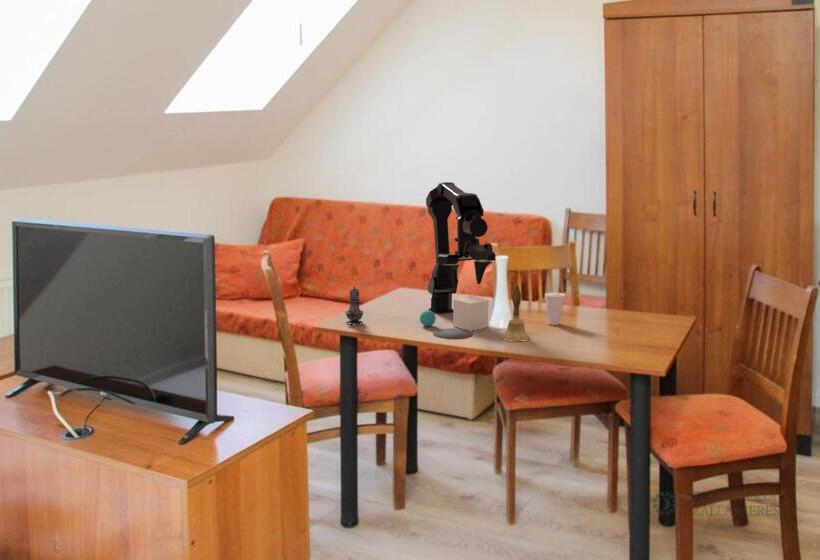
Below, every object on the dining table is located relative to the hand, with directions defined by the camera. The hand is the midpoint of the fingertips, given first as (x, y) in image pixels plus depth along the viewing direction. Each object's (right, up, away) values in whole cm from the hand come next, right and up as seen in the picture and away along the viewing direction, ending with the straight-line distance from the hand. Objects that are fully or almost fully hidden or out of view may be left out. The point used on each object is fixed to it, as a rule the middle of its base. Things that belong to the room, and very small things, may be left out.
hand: (467, 285), depth 302 cm
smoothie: (+28, -13, +8) cm, 32 cm away
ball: (-12, -10, +4) cm, 16 cm away
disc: (-5, -15, -5) cm, 16 cm away
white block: (+1, -13, +3) cm, 14 cm away
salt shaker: (-35, -12, +7) cm, 38 cm away
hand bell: (+14, -16, -9) cm, 23 cm away
